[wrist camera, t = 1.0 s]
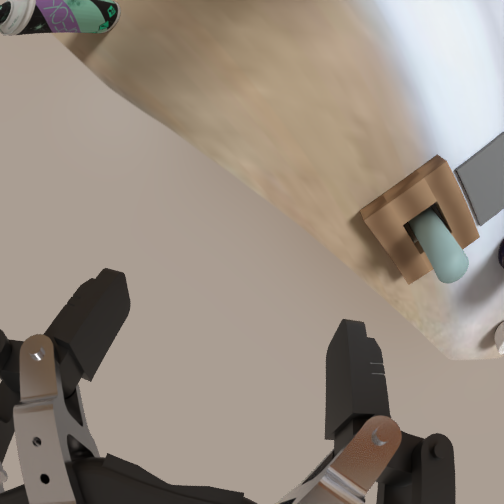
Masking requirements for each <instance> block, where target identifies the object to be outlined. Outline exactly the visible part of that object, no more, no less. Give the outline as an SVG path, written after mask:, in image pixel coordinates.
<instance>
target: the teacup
mask: <svg viewBox="0 0 504 504" xmlns="http://www.w3.org/2000/svg"><path fill="white" fill-rule="evenodd" d="M495 343H496V347H497V349H498V352H499V354H504V321H503V322H502V323H501V324H500V325H499V326H498V328H497V329H496V332H495Z"/></svg>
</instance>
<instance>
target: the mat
mask: <svg viewBox="0 0 504 504" xmlns="http://www.w3.org/2000/svg"><path fill="white" fill-rule="evenodd" d="M456 171H457V173H458V176H459V178H460V180H461V182H462V184H463V186H464V189H465V191H466V193H467V195H468V198H469V200H470V203H471V205H472V207H473V210H474V212H475V215H476V218H477V220H478V223H479V225H480V226H482V225H483V224H484V223H486V222H487V221H488V220H489V219H491V218H492V217H493V216H495V215H496V214H497V213H498V212H500V211H501V210H502V209H503V208H504V132H502V133H501V134H500V135H499V136H497V137H496V138H495V139H494V140H492V141H491V142H490V143H489V144H487V145H486V146H485V147H484V148H482V149H481V150H480V151H478V152H477V153H476V154H475V155H473V156H472V157H471V158H469V159H468V160H467V161H465V162H464V163H463V164H461V165H460V166H459V167H458V168H456Z"/></svg>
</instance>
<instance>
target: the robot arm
mask: <svg viewBox="0 0 504 504" xmlns="http://www.w3.org/2000/svg"><path fill="white" fill-rule="evenodd" d="M129 311H130V298H129V293H128V288H127V283H126V277H125V274H124V273H123V272H119V271H115V270H111V269H108V268H105V269H103V270H102V271H101V272H100V274H99V275H98V276H97V277H96V279H93V278H91V279H89V280H88V281H86V282H85V283H83V284H82V285H81V286H80V287H79V288H78V289H77V291H76V292H75V293H74V294H73V297H71V298H70V300H69V301H68V302H67V305H65V306H64V307H63V309H62V310H61V311H60V313H59V314H58V315H57V317H56V318H55V319H54V321H53V322H52V324H51V325H50V326H49V328H48V329H47V331H46V332H45V333H44V334H43V335H42V334H36V335H33V336H30V337H29V338H28V339H26V340H25V341H24V342H23V341H15V340H9V339H7V337H6V336H5V334H4V332H3V331H2V330H0V379H1V380H2V381H1V383H0V504H257V503H255V502H253V501H252V500H250V499H247V498H245V497H243V496H244V493H240V492H234V491H229V490H224V489H219V488H214V487H210V486H181V485H171V484H168V483H166V482H164V481H162V480H160V479H159V478H157V477H156V476H154V475H152V474H151V473H149V472H147V471H146V470H144V469H143V468H141V467H140V466H138V465H135V464H133V463H130V462H128V461H125V460H123V459H120V458H118V457H115V456H113V455H110V454H108V453H107V456H106V458H103V457H100V456H99V452H98V449H97V446H96V444H95V441H94V439H93V438H92V436H91V434H90V432H89V429H88V426H87V422H86V418H85V413H84V409H83V404H82V399H81V394H80V389H79V385H78V382H79V381H80V379H81V378H84V379H86V380H88V381H90V382H91V381H92V379H93V377H94V375H95V373H96V371H97V369H98V367H99V366H100V364H101V362H102V360H103V358H104V356H105V355H106V353H107V351H108V349H109V347H110V346H111V344H112V342H113V340H114V339H115V337H116V335H117V333H118V332H119V330H120V328H121V326H122V325H123V323H124V321H125V320H126V318H127V316H128V314H129ZM384 374H385V371H384V366H383V358H382V352H381V349H380V347H379V346H378V344H377V343H376V341H375V339H374V338H368V337H367V334H366V329H365V324H364V322H360V321H353V320H346V319H343V320H342V321H341V323H340V325H339V327H338V329H337V331H336V333H335V335H334V337H333V339H332V340H331V342H330V344H329V347H328V350H327V355H326V418H325V439H326V440H327V439H328V440H334V449H333V450H332V451H331V452H330V453H329V454H328V455H327V456H326V457H325V458H324V459H323V461H322V462H321V463H320V464H319V465H318V466H317V467H316V468H315V469H314V470H313V471H312V472H311V473H310V474H309V475H308V476H307V477H306V478H305V479H304V480H303V481H302V482H301V483H300V484H299V485H298V486H296V487H295V488H294V489H293V490H291V491H290V492H289V493H288V494H286V495H285V496H284V497H283V498H282V499H281V500H279V501H278V502H277V503H276V504H365V499H364V497H365V495H366V493H367V492H368V491H369V489H370V488H371V486H372V485H373V484H374V482H375V481H376V482H378V492H377V503H376V504H455V466H454V451H453V446H452V443H451V441H450V440H449V439H448V438H447V437H446V436H445V435H442V434H438V433H436V434H432V435H430V436H428V437H427V438H425V439H423V438H420V437H417V436H413V435H410V434H407V433H405V432H403V431H401V430H400V427H399V426H398V424H397V423H396V422H395V421H394V420H393V419H391V416H390V411H389V402H388V393H387V386H386V378H385V376H384ZM14 431H15V436H16V443H17V449H18V455H19V461H20V466H21V471H22V475H23V480H24V484H23V485H21V486H18V487H16V488H13V489H11V490H8V491H4V488H3V482H6V481H7V478H8V476H7V473H6V471H5V470H3V466H2V462H3V459H4V457H5V454H6V452H7V449H8V446H9V444H10V441H11V439H12V436H13V434H14Z"/></svg>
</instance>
